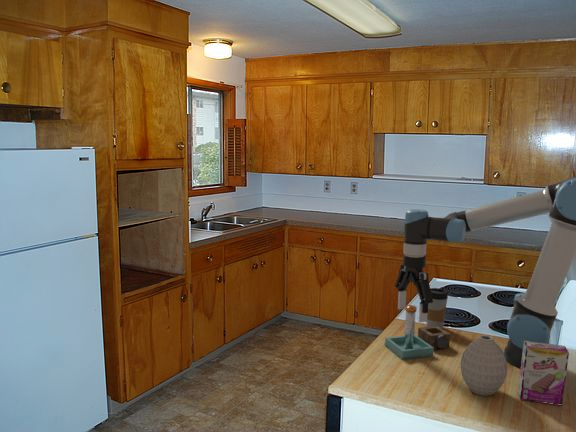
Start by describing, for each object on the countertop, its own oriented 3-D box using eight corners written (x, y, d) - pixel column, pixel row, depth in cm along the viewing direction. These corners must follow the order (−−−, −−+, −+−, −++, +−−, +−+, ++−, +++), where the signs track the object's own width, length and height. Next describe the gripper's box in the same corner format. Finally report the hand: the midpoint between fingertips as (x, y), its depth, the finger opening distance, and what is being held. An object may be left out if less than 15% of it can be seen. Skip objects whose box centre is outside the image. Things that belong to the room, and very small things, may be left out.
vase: (512, 391, 151) (517, 338, 149) (492, 406, 143) (498, 350, 140) (471, 376, 160) (475, 325, 158) (450, 389, 152) (455, 336, 149)
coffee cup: (429, 322, 207) (431, 286, 205) (449, 327, 202) (451, 290, 200) (420, 327, 201) (422, 291, 199) (440, 333, 196) (443, 295, 193)
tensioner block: (451, 348, 181) (453, 335, 180) (432, 351, 179) (433, 337, 178) (436, 338, 190) (437, 325, 189) (417, 340, 188) (418, 327, 187)
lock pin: (416, 350, 177) (418, 308, 175) (406, 351, 176) (409, 309, 174) (410, 345, 181) (412, 304, 179) (401, 346, 180) (403, 305, 177)
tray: (433, 355, 175) (433, 347, 174) (402, 359, 171) (402, 351, 171) (414, 342, 186) (414, 334, 186) (385, 345, 183) (385, 337, 182)
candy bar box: (520, 400, 146) (525, 346, 144) (517, 392, 151) (522, 339, 148) (563, 407, 143) (569, 351, 141) (559, 398, 148) (565, 344, 145)
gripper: (446, 262, 163) (442, 326, 166) (405, 247, 186) (402, 303, 189) (425, 264, 161) (422, 328, 164) (386, 248, 184) (384, 304, 187)
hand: (411, 315), depth 177 cm, fingers open, 13 cm apart
